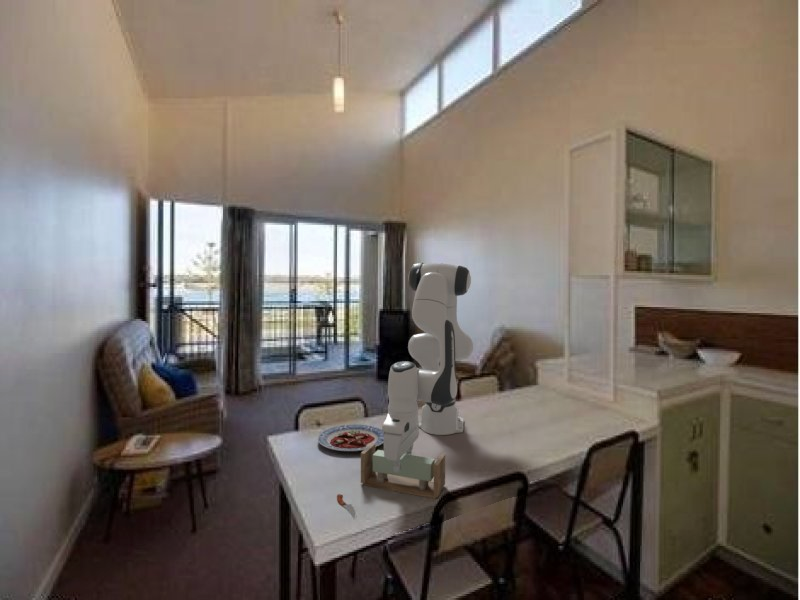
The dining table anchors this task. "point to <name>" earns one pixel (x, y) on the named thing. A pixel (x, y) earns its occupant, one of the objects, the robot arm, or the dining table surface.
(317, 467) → the dining table surface
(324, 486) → the dining table surface
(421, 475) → the pale green rectangular block
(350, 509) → the knife
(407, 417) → the robot arm
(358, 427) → the ceramic plate
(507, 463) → the dining table surface
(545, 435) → the dining table surface
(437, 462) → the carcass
